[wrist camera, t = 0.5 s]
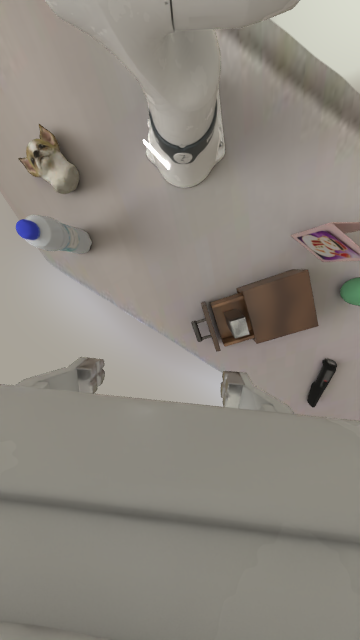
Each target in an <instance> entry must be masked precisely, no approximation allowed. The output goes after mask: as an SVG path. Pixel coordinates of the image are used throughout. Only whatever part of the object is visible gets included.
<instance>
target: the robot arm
mask: <svg viewBox="0 0 360 640" xmlns="http://www.w3.org/2000/svg"><path fill="white" fill-rule="evenodd" d="M299 1H300V0H45V2H46V3H47V4H48V6H49V7H50V8H51V9H52V11H53V12H54V13H55V14H56V15H57V16H58V17H59V18H60V19H61V20H63V21H65V22H67V23H69V24H71V25H72V26H74V27H76V28H78V29H79V30H81V31H83V32H85V33H86V34H88V35H89V36H91V37H92V38H94V39H95V40H96V41H98V42H99V43H100V44H101V45H103V46H104V47H105V48H106V49H108V50H109V51H110V52H111V53H112V54H113V55H114V56H115V57H116V58H117V59H118V60H119V61H120V62H121V63H122V64H123V65H124V66H125V67H126V68H127V69H128V70H129V71H130V73H131V74H132V75H133V76H134V77H135V79H136V80H137V81H138V83H139V84H140V86H141V87H142V89H143V91H144V94H145V97H146V100H147V103H148V110H149V116H150V118H148V127H149V134H148V141H147V142H146V141H145V140H143V142H144V144H145V145H146V146H147V149H146V155H147V158H148V160H149V161H150V162H152V163H153V164H154V165H156V166H157V168H158V169H159V171H160V173H161V174H162V176H163V177H164V178H165V179H166V180H167V181H168V182H169V183H170V184H172V185H174V186H177V187H181V188H188V187H192V186H195V185H197V184H199V183H200V182H202V181H203V180H204V179H205V178H206V177H207V175H208V174H209V173H210V171H211V169H212V168H213V166H214V165H215V164H216V163H218V162H219V161H220V160H222V159H223V157H224V155H225V144H224V134H223V125H222V115H221V106H220V96H219V87H218V86H219V79H220V72H221V55H220V48H219V43H218V40H217V36H216V33H215V30H214V29H233V28H244V27H247V26H249V25H252V24H255V23H258V22H261V21H264V20H267V19H269V18H272V17H274V16H276V15H279V14H281V13H284V12H286V11H288V10H291V9H293V8H294V7H295V6H296V4H297V3H298V2H299ZM219 146H221V148H219ZM103 367H104V360H103V359H96V358H88V357H80V358H79V359H77V360H76V361H75V362H73V363H72V364H71V365H70V366H68V367H67V368H66V367H64V368H61V369H57V370H55V371H51V372H47V373H44V374H41V375H37V376H34V377H30V378H27V379H24V380H23V381H21V382H19V383H18V384H16V385H5V384H0V640H360V421H358V420H347V419H337V418H327V417H317V416H308V415H298V414H294V412H293V411H292V410H291V408H290V407H289V406H288V405H286V404H285V403H283V402H281V401H280V400H278V399H276V398H275V397H273V396H272V395H270V394H268V393H267V392H265V391H263V390H262V389H260V388H259V387H257V386H254V385H253V383H252V381H251V379H250V378H249V376H248V374H247V373H245V372H232V371H223V376H222V377H223V382H222V383H221V397H222V398H223V406H224V407H219V406H210V405H199V404H189V403H180V402H171V401H160V400H151V399H142V398H132V397H122V396H112V395H103V394H94V393H95V392H96V390H97V387H98V386H100V385H101V384H102V382H103V380H104V376H105V372H104V370H103V369H102V368H103Z"/></svg>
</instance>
